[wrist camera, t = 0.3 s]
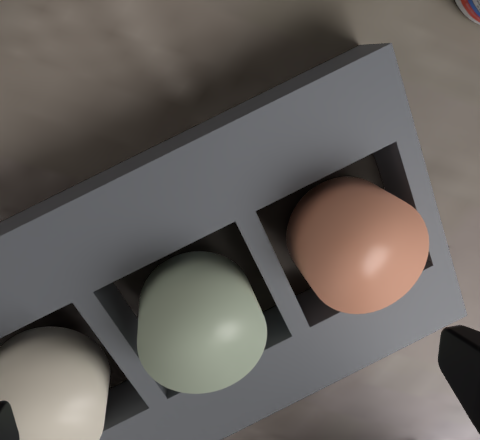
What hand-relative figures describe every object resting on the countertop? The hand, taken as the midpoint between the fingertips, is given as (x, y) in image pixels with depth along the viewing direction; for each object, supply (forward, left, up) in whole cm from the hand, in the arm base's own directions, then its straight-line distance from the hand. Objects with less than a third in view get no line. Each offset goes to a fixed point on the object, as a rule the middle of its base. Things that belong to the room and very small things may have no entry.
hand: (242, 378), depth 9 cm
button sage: (-5, +2, -12) cm, 13 cm away
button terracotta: (-5, -6, -12) cm, 14 cm away
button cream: (-5, +10, -12) cm, 16 cm away
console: (-5, +2, -14) cm, 15 cm away
